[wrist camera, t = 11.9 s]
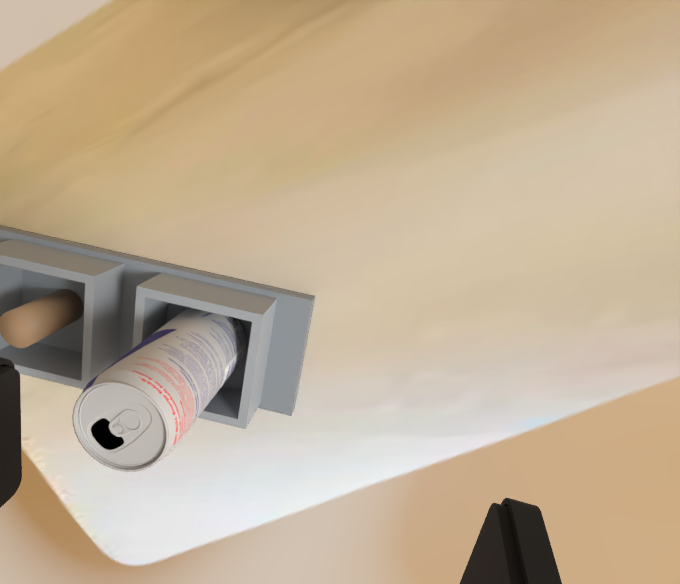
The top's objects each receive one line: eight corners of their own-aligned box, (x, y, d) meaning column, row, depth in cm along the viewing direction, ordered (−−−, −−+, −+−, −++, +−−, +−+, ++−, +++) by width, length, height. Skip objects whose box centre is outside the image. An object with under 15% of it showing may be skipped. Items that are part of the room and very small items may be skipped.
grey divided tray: (-5, 336, 40) (-74, 369, 34) (-7, 223, 37) (-82, 238, 31) (294, 408, 38) (273, 456, 32) (315, 296, 35) (296, 326, 30)
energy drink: (160, 325, 36) (46, 409, 25) (217, 287, 35) (124, 358, 24) (205, 384, 37) (115, 491, 26) (263, 349, 36) (194, 447, 25)
